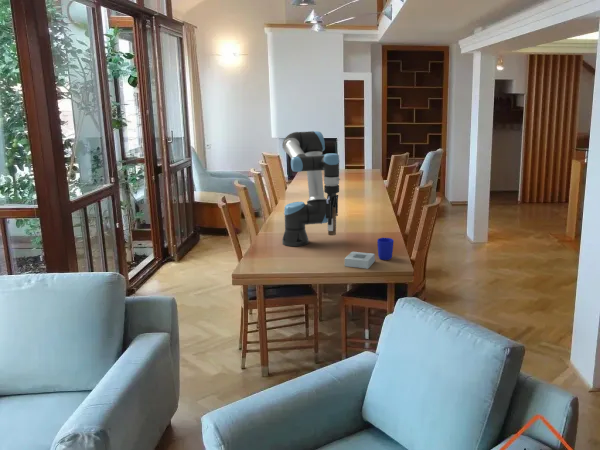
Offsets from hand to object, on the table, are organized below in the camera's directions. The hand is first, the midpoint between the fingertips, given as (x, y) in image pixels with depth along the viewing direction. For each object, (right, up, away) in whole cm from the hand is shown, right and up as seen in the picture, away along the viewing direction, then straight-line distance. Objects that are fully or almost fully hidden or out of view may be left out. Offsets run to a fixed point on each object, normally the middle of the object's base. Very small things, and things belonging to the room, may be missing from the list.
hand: (332, 229), depth 264 cm
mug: (+27, -15, +2) cm, 31 cm away
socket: (+14, -17, -6) cm, 23 cm away
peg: (0, -3, +1) cm, 3 cm away
